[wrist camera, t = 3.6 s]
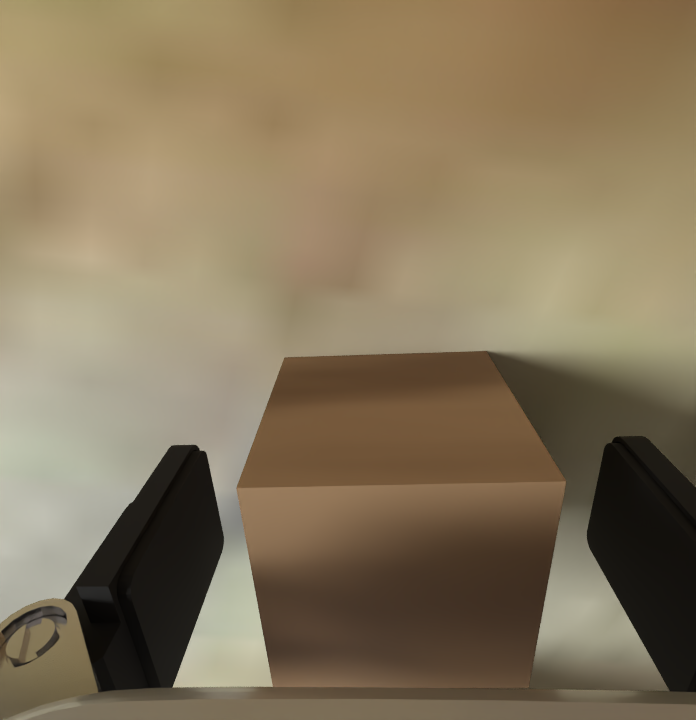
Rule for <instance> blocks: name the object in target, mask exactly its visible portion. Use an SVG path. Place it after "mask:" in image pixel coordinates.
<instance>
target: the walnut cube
mask: <svg viewBox="0 0 696 720" xmlns="http://www.w3.org/2000/svg"><path fill="white" fill-rule="evenodd" d="M565 487H566V480H565V478H564V477H563V475H562V473H561V472H560V470H559V469H558V467H557V465H556V464H555V462H554V460H553V459H552V457H551V456H550V454H549V452H548V451H547V449H546V447H545V446H544V444H543V443H542V441H541V439H540V438H539V436H538V434H537V433H536V431H535V430H534V428H533V426H532V425H531V423H530V421H529V420H528V418H527V416H526V415H525V413H524V412H523V410H522V408H521V407H520V405H519V403H518V402H517V400H516V399H515V397H514V395H513V394H512V392H511V390H510V389H509V387H508V386H507V384H506V382H505V381H504V379H503V377H502V376H501V374H500V373H499V371H498V369H497V368H496V366H495V364H494V363H493V361H492V360H491V358H490V356H489V355H488V353H487V351H474V352H443V353H412V354H381V355H350V356H319V357H288V358H284V361H283V363H282V366H281V369H280V371H279V374H278V377H277V380H276V382H275V385H274V388H273V390H272V393H271V396H270V398H269V401H268V404H267V407H266V409H265V412H264V415H263V417H262V420H261V423H260V426H259V428H258V431H257V434H256V436H255V439H254V442H253V445H252V447H251V450H250V453H249V455H248V458H247V461H246V464H245V466H244V469H243V472H242V474H241V477H240V480H239V483H238V485H237V494H238V499H239V505H240V510H241V515H242V521H243V526H244V532H245V537H246V543H247V548H248V553H249V559H250V564H251V570H252V575H253V581H254V586H255V591H256V597H257V602H258V608H259V613H260V619H261V624H262V629H263V635H264V640H265V646H266V651H267V657H268V662H269V667H270V673H271V678H272V684H273V687H386V688H529V683H530V678H531V672H532V667H533V661H534V656H535V650H536V645H537V639H538V634H539V628H540V623H541V617H542V612H543V607H544V601H545V596H546V590H547V585H548V579H549V574H550V568H551V563H552V557H553V552H554V547H555V541H556V536H557V530H558V525H559V519H560V514H561V508H562V503H563V497H564V492H565Z"/></svg>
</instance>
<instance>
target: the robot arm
mask: <svg viewBox="0 0 696 720" xmlns="http://www.w3.org/2000/svg"><path fill="white" fill-rule="evenodd" d="M587 541H588V545H589V547H590V550H591V552H592V553H593V555H594V557H595V559H596V560H597V562H598V564H599V566H600V568H601V569H602V571H603V573H604V575H605V576H606V578H607V580H608V582H609V584H610V585H611V587H612V589H613V591H614V592H615V594H616V596H617V598H618V600H619V601H620V603H621V605H622V607H623V608H624V610H625V612H626V614H627V616H628V617H629V619H630V621H631V623H632V624H633V626H634V628H635V630H636V632H637V633H638V635H639V637H640V639H641V640H642V642H643V644H644V646H645V648H646V649H647V651H648V653H649V655H650V657H651V658H652V660H653V662H654V664H655V665H656V667H657V669H658V671H659V673H660V674H661V676H662V678H663V680H664V681H665V683H666V685H667V687H668V689H669V690H670V691H627V690H563V689H489V688H386V687H185V688H172V687H173V684H174V682H175V679H176V676H177V673H178V671H179V668H180V665H181V662H182V660H183V657H184V654H185V652H186V649H187V646H188V643H189V641H190V638H191V635H192V632H193V630H194V627H195V624H196V621H197V619H198V616H199V613H200V611H201V608H202V605H203V602H204V600H205V597H206V594H207V591H208V589H209V586H210V583H211V580H212V578H213V575H214V572H215V569H216V567H217V564H218V561H219V559H220V556H221V553H222V550H223V544H224V536H223V531H222V526H221V521H220V516H219V511H218V506H217V502H216V497H215V492H214V487H213V482H212V477H211V473H210V468H209V463H208V458H207V454H206V452H205V451H200V450H199V448H198V446H196V445H173V446H171V447H170V448H169V449H168V451H167V452H166V454H165V455H164V457H163V458H162V460H161V461H160V463H159V464H158V466H157V467H156V469H155V470H154V472H153V473H152V475H151V476H150V478H149V479H148V480H147V482H146V483H145V485H144V486H143V488H142V489H141V491H140V492H139V494H138V495H137V497H136V498H135V500H134V501H133V502H132V503H130V504H129V505H128V507H127V508H126V509H125V510H124V512H123V513H122V515H121V516H120V518H119V519H118V521H117V522H116V524H115V525H114V527H113V528H112V529H111V531H110V532H109V534H108V535H107V537H106V538H105V540H104V541H103V543H102V544H101V546H100V547H99V549H98V550H97V551H96V553H95V554H94V556H93V557H92V559H91V560H90V562H89V563H88V565H87V566H86V568H85V569H84V571H83V572H82V573H81V575H80V576H79V578H78V579H77V581H76V582H75V584H74V585H73V587H72V588H71V590H70V591H69V593H68V594H67V596H66V597H65V598H64V599H54V598H52V599H47V600H41V601H38V602H35V603H33V604H30V605H28V606H25V607H24V608H22V609H20V610H19V611H17V612H15V613H13V614H12V615H10V616H9V617H8V618H7V619H5V620H4V621H3V622H2V623H1V624H0V720H696V488H695V487H694V486H693V485H692V483H691V482H690V481H689V480H688V479H687V478H686V477H685V476H684V475H683V474H682V473H681V472H680V471H679V470H678V469H677V468H676V467H675V466H674V465H673V464H672V463H671V462H670V461H669V460H668V459H667V458H666V457H665V456H664V455H663V454H662V453H661V452H660V451H659V450H658V449H657V448H656V447H655V446H654V445H653V444H652V443H651V442H650V441H649V440H648V439H647V438H646V437H643V436H624V437H615V438H614V439H613V441H612V443H608V444H606V446H605V448H604V453H603V458H602V462H601V467H600V472H599V477H598V482H597V486H596V491H595V496H594V501H593V506H592V510H591V515H590V520H589V525H588V530H587Z"/></svg>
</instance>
